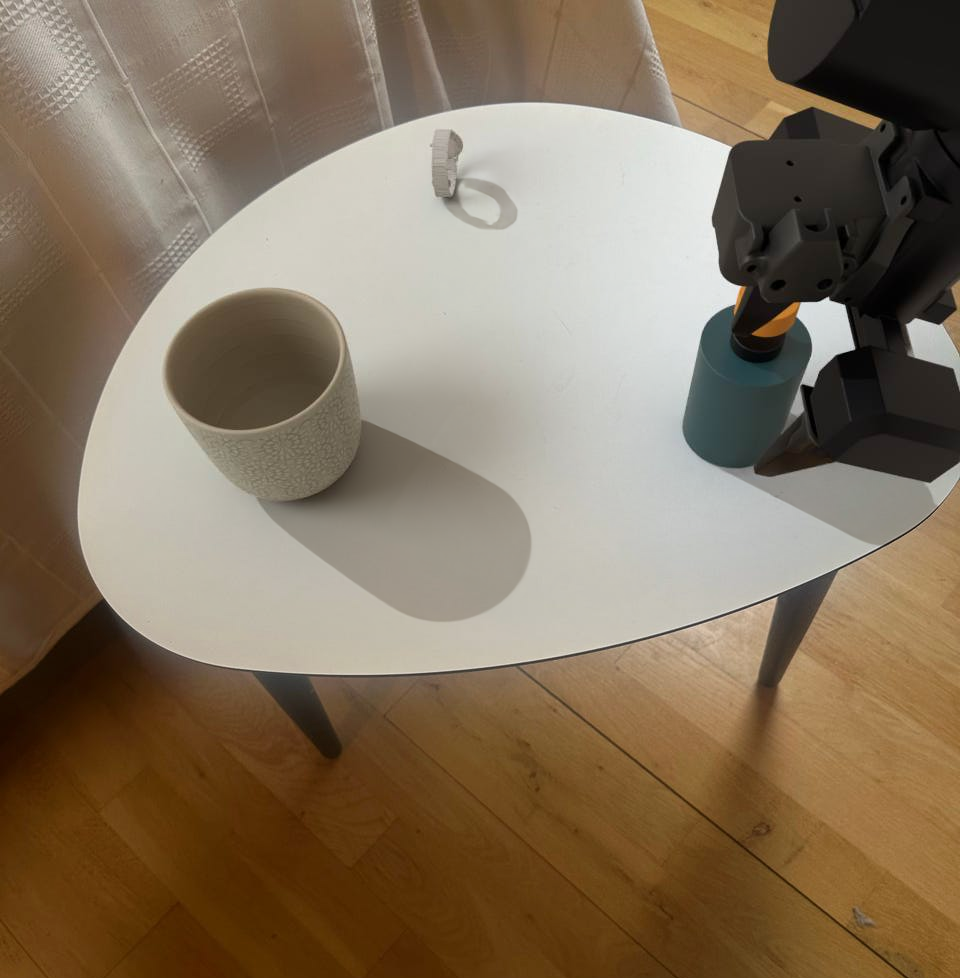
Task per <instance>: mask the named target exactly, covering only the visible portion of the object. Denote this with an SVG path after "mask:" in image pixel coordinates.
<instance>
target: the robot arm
mask: <svg viewBox="0 0 960 978" xmlns="http://www.w3.org/2000/svg"><path fill="white" fill-rule="evenodd" d="M766 43H767V44H766V47H767V49H766V50H767V63H768V68H769V71H770V72H771V74H772V76H773V78H774V79H775V80H776V81H779V82H781V83H783V84H786V85H789V86H791V87H794V88H797V89H800V90H802V91H805V92H807V93H810V94H813V95H816V96H819V97H821V98H824V99H826V100H829V101H832V102H834V103H837V104H840V105H843V106H845V107H848V108H850V109H853V110H856V111H859V112H861V113H864V114H867V115H870V116H873V117H874V118H877V119H881V121H880V122H879V123H878V125H877V126H876V127H875V128H871V127H868V126H867V125H863V124H860V123H858V122H856V121H853V120H850V119H847V118H845V117H842V116H839V115H837V114H834V113H831V112H829V111H826V110H823V109H820V108H818V107H815V106H809V107H807V108H805V109H802V110H799V111H797V112H795V113H792V114H789V115H787V116H784V117H783V118H782V119H781V121H780V122H779V124H778V125H777V127H776V128H775V129H774V131H773V132H772V134H771V135H770V136H769V138H768V139H752V140H751V139H750V140H749V139H748V140H742V141H739V142H738V143H736V144H734V145H733V146H732V147H731V148H730V150H729V152H728V156H727V160H726V163H725V167H724V171H723V174H722V178H721V180H720V184H719V188H718V192H717V196H716V200H715V203H714V206H713V210H712V213H711V226H712V228H713V229H714V233H715V239H716V245H717V251H718V269H719V272H720V274H721V276H722V277H723V278H724V279H725V281H727V282H728V283H731V284H733V285H734V286H738V287H741V286H743V287H746V288H745V291H744V293H743V296H742V298H741V301H740V303H739V306H738V308H737V311H736V314H735V316H734V319H733V321H732V324H731V332H732V333H733V334H736V335H739V336H743V337H746V336H749V335H750V334H752V333H754V332H755V331H757V330H758V329H760V328H761V327H763V326H764V325H766V324H767V323H769V322H770V321H771V320H773V319H774V318H775V317H777V316H778V315H779V314H780V313H782V312H783V311H784V310H785V309H787V308H788V307H789V306H791V305H792V304H793V303H799V302H801V303H820V302H822V301H824V300H825V299H828V300H829V302H832V303H836V304H840V305H842V306H843V305H844V307H845V311H846V316H847V320H848V324H849V325H848V326H849V329H850V334H851V337H852V341H853V346H854V349H851V350H848V351H844V352H841V353H838V354H835V355H834V356H833V357H832V358H831V359H830V360H829V361H828V362H827V363H826V364H825V365H824V366H822V367H821V368H820V369H819V371H818V374H817V376H816V379H815V382H814V385H813V386H812V385H809V384H804V383H801V384H800V386H799V391H800V398H801V402H802V406H803V411H802V412H801V414H799V416H797V417H796V419H794V421H793V422H792V423H791V424H790V425H788V427H787V428H786V429H785V430H783V431H782V434H781V435H780V436H779V437H778V438H777V439H776V440H775V441H774V442H773V443H772V445H771V446H770V447H769V448H768V449H767V450H766V451H765V452H764V453H763V455H762V456H761V457H760V459H759V460H758V461H757V463H756V464H753V473H754V474H755V475H757V476H761V477H766V478H774V477H778V476H783V475H786V474H791V473H795V472H799V471H804V470H808V469H812V468H817V467H820V466H821V467H822V466H824V465H825V466H826V465H829V464H834V463H838V464H843V465H846V466H851V467H857V468H860V469H865V470H870V471H874V472H879V473H883V474H888V475H891V476H896V477H900V478H905V479H909V480H914V481H919V482H922V483H928V484H931V483H933V481H936V480H937V479H938V478H940V477H941V476H942V475H944V474H945V473H947V472H948V471H950V470H952V469H953V468H954V467H956V466H957V465H958V464H960V386H959V382H958V379H957V375H956V372H955V368H953V367H951V366H946V365H942V364H939V363H936V362H931V361H928V360H925V359H921V358H918V357H917V358H916V356H915V352H914V349H913V346H912V341H911V336H910V333H909V330H908V325H909V324H911V323H912V322H913V321H914V320H915V319H917V320H921V321H923V322H924V321H925V322H927V323H931V324H933V325H937V326H940V325H942V324H943V323H944V322H945V321H946V320H947V319H949V318H950V317H951V316H952V315H953V314H954V313H955V312H956V311H957V310H958V306H957V303H956V300H955V296H954V293H953V290H952V288H953V287H954V286H955V285H956V284H957V283H958V282H959V281H960V0H775V1H774V5H773V8H772V13H771V18H770V22H769V27H768V35H767V42H766Z"/></svg>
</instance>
